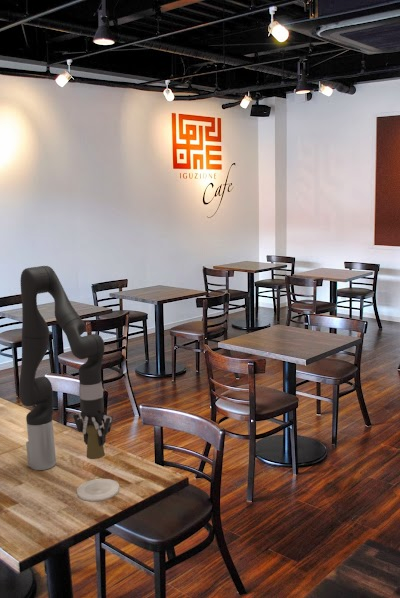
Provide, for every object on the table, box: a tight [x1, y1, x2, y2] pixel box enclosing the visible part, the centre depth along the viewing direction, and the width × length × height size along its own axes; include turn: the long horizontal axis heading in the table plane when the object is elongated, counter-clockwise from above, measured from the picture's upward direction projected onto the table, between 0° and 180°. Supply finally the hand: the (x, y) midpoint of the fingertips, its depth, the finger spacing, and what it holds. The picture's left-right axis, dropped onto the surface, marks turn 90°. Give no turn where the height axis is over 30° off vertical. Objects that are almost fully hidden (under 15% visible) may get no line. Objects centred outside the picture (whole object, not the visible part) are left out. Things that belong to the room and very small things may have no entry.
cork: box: [86, 424, 106, 460], centre depth 203 cm, size 6×6×11 cm
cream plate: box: [76, 478, 120, 502], centre depth 206 cm, size 14×14×1 cm
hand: (94, 444), depth 203 cm, fingers closed on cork, 4 cm apart
